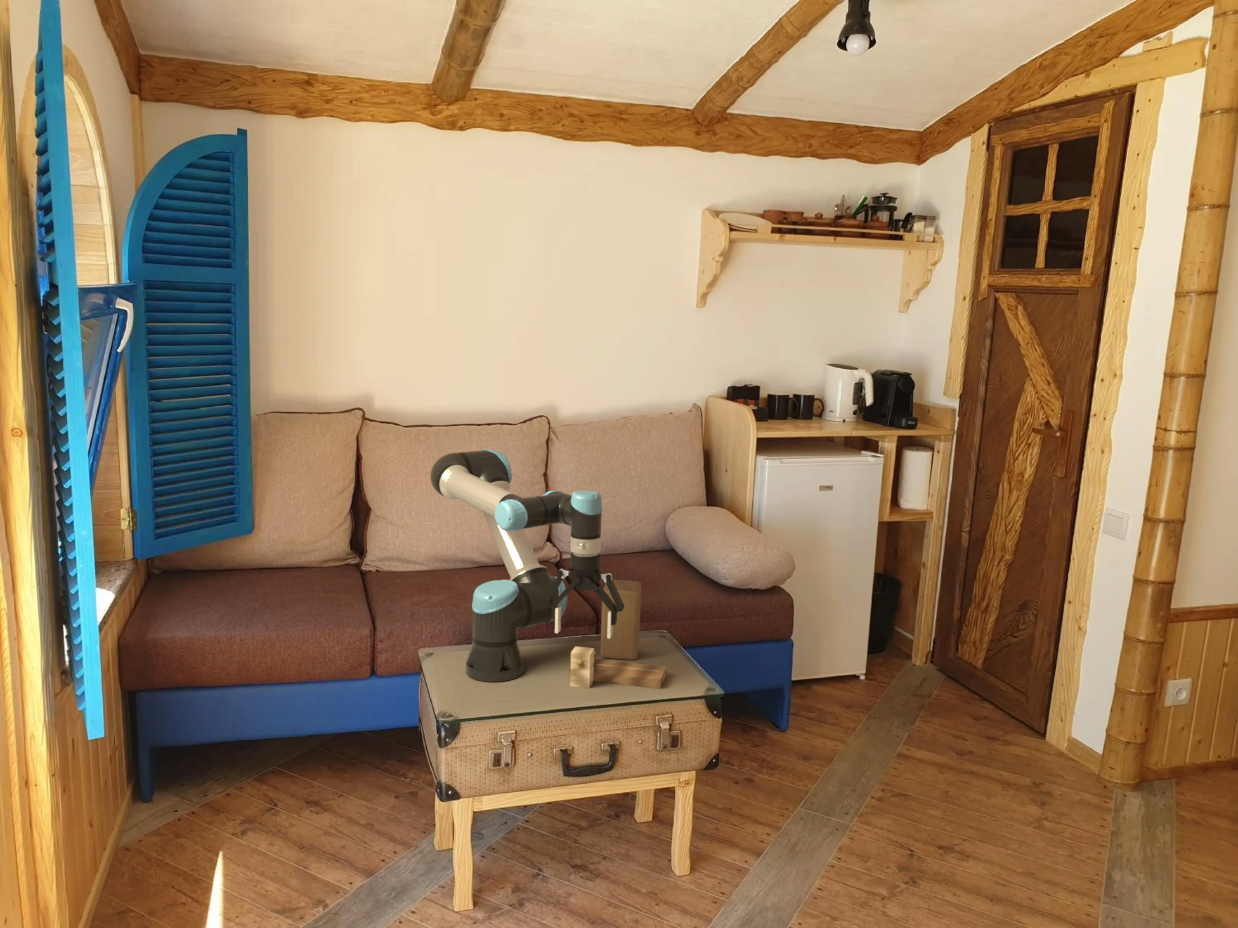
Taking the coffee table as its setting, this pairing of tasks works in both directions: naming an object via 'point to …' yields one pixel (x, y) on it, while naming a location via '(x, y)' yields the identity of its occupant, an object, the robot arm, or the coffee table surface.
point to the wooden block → (622, 623)
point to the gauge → (582, 667)
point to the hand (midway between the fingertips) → (583, 634)
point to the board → (628, 673)
